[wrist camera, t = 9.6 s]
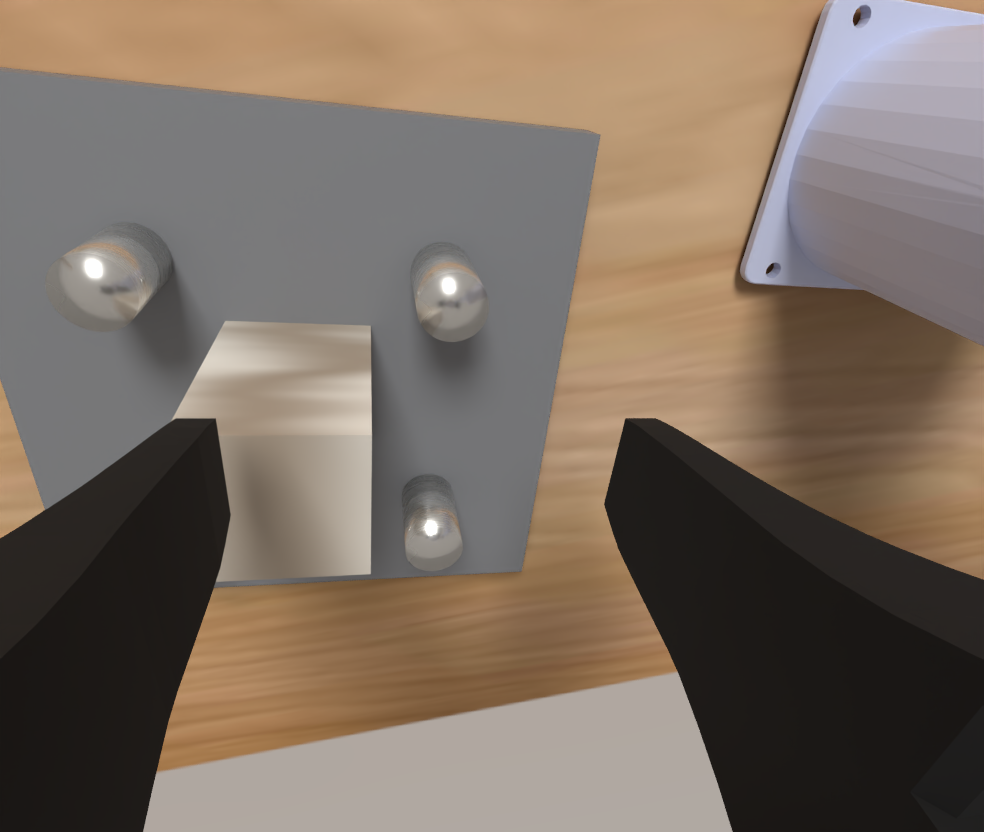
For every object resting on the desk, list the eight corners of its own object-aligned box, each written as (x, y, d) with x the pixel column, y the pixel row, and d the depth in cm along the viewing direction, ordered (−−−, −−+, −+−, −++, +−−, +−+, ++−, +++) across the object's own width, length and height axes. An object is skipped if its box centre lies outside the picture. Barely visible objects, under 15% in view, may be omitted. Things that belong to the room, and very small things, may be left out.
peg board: (586, 130, 17) (640, 148, 14) (515, 550, 25) (538, 627, 22) (-74, 59, 14) (-219, 60, 10) (87, 569, 22) (36, 664, 18)
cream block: (370, 325, 18) (371, 435, 12) (370, 439, 20) (370, 574, 14) (225, 320, 17) (163, 435, 12) (240, 440, 19) (192, 583, 14)
